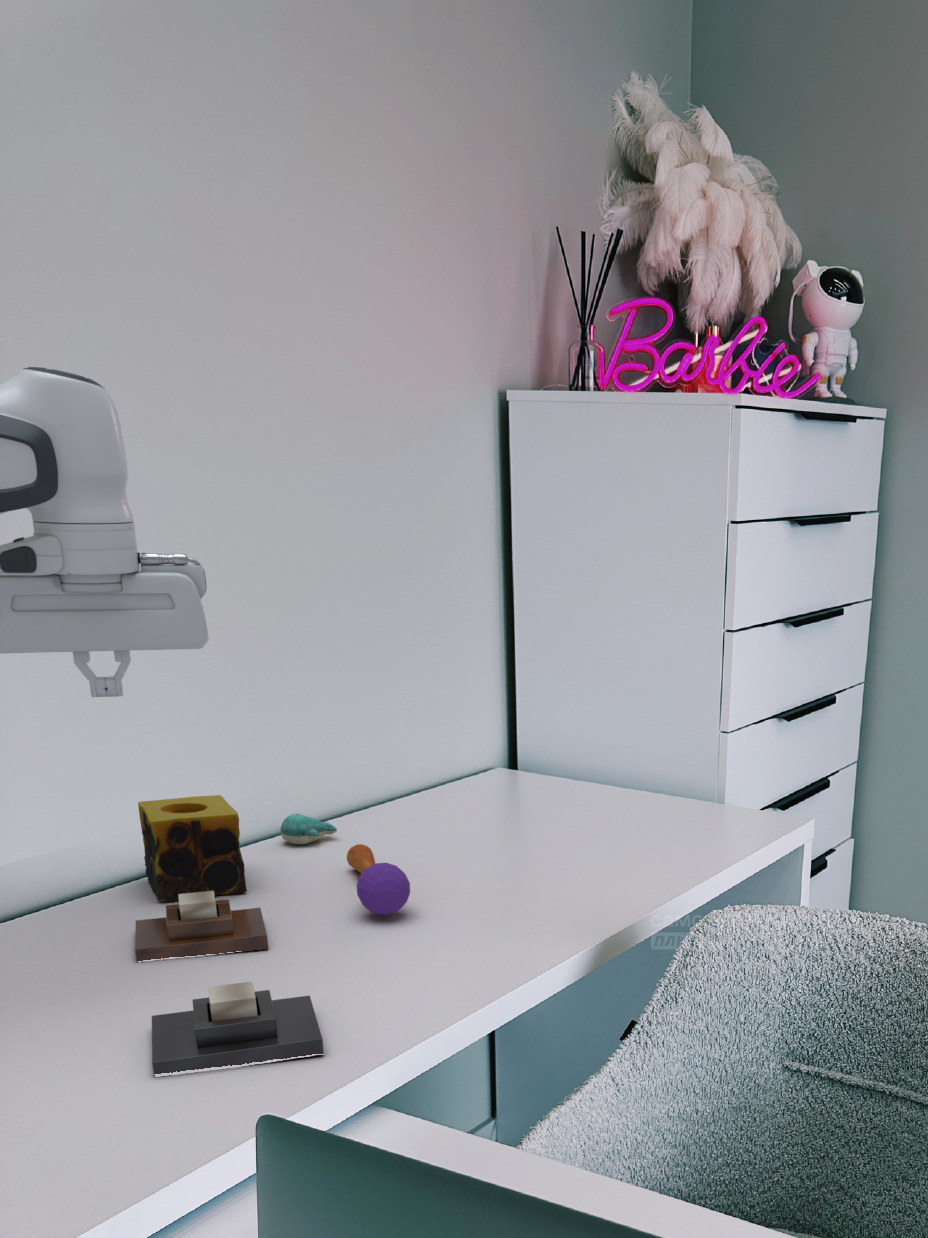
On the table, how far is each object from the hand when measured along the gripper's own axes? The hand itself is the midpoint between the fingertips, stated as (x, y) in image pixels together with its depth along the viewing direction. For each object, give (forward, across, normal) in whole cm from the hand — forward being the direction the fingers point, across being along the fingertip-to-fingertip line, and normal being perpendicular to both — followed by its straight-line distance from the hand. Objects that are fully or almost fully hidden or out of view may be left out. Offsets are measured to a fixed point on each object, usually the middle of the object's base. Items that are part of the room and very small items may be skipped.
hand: (107, 696), depth 126 cm
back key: (+24, -6, +2) cm, 24 cm away
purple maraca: (+27, -26, -8) cm, 38 cm away
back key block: (+27, -6, +2) cm, 27 cm away
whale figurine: (+27, -21, -33) cm, 48 cm away
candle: (+27, -6, -17) cm, 32 cm away
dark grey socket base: (+27, -8, +29) cm, 40 cm away
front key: (+24, -8, +29) cm, 38 cm away
